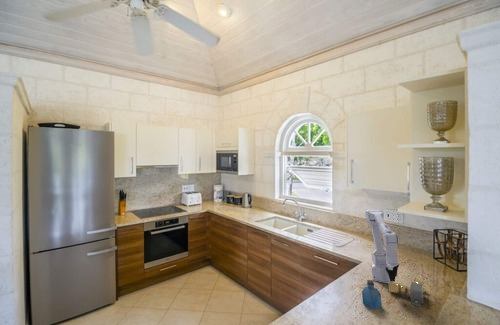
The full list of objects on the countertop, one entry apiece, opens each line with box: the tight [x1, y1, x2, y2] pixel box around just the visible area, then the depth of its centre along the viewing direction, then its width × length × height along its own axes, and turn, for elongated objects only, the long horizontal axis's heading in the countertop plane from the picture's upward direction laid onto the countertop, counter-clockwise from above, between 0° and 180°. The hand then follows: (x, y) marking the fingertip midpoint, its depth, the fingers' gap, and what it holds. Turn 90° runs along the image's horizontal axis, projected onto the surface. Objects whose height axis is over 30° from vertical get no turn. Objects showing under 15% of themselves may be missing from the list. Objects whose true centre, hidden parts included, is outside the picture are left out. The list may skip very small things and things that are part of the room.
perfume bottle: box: [361, 279, 382, 310], centre depth 124 cm, size 6×6×12 cm
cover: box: [414, 280, 426, 294], centre depth 135 cm, size 5×5×4 cm
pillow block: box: [409, 281, 424, 307], centre depth 127 cm, size 5×16×6 cm, turn 142°
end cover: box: [388, 281, 409, 295], centre depth 132 cm, size 9×5×5 cm, turn 52°
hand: (393, 278), depth 134 cm, fingers open, 7 cm apart
